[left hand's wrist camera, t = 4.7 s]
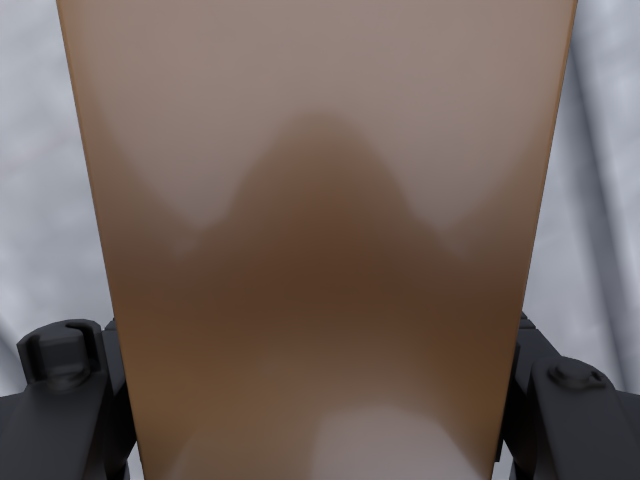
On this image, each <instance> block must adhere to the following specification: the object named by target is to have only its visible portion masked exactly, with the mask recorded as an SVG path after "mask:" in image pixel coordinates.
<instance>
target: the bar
mask: <svg viewBox="0 0 640 480" xmlns="http://www.w3.org/2000/svg"><path fill="white" fill-rule="evenodd" d="M577 1H578V0H56V3H57V9H58V14H59V19H60V25H61V30H62V36H63V41H64V46H65V52H66V57H67V63H68V68H69V74H70V79H71V84H72V90H73V95H74V101H75V106H76V111H77V117H78V122H79V128H80V133H81V139H82V144H83V149H84V155H85V160H86V166H87V171H88V176H89V182H90V187H91V193H92V198H93V204H94V209H95V214H96V220H97V225H98V231H99V236H100V241H101V247H102V252H103V258H104V263H105V269H106V274H107V279H108V285H109V290H110V296H111V301H112V306H113V312H114V317H115V323H116V328H117V334H118V339H119V344H120V350H121V355H122V361H123V366H124V371H125V377H126V382H127V388H128V393H129V399H130V404H131V409H132V415H133V420H134V426H135V431H136V436H137V442H138V447H139V453H140V458H141V464H142V469H143V474H144V480H491V479H492V473H493V468H494V462H495V457H496V451H497V445H498V440H499V434H500V429H501V423H502V418H503V412H504V407H505V401H506V396H507V390H508V384H509V379H510V373H511V368H512V362H513V357H514V351H515V346H516V340H517V334H518V329H519V323H520V318H521V312H522V307H523V301H524V296H525V290H526V285H527V279H528V273H529V268H530V262H531V257H532V251H533V246H534V240H535V235H536V229H537V223H538V218H539V212H540V207H541V201H542V196H543V190H544V185H545V179H546V174H547V168H548V162H549V157H550V151H551V146H552V140H553V135H554V129H555V124H556V118H557V112H558V107H559V101H560V96H561V90H562V85H563V79H564V74H565V68H566V63H567V57H568V51H569V46H570V40H571V35H572V29H573V24H574V18H575V13H576V7H577Z"/></svg>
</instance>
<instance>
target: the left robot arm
mask: <svg viewBox="0 0 640 480" xmlns="http://www.w3.org/2000/svg"><path fill="white" fill-rule="evenodd" d="M16 345H17V349H18V352H19V356H20V359H21V363H22V366H23V370H24V374H25V377H26V381H27V384H28V385H27V386H26V388H25V390H24V392H22V393H18V394H14V395H9V396H4V397H0V480H130V473H129V467H128V462H127V459H128V457H129V455H130V453H131V451H132V449H133V447H134V445H135V443H136V441H137V436H136V431H135V426H134V420H133V415H132V409H131V404H130V399H129V393H128V388H127V382H126V377H125V371H124V366H123V361H122V355H121V350H120V344H119V339H118V334H117V328H116V323H115V317H114V318H113V321H110V323H109V324H108V325H107V326H106V327H105V330H104V331H101V326H100V325H99V324H97V323H96V322H95V321H91V320H86V319H72V320H65V321H60V322H55V323H51V324H49V325H46V326H43V327H41V328H38V329H36V330H34V331H33V332H31V333H29V334H27V335H26V336H24V337H23V338H22V339H21V340H20V341H19V342H18V343H17V344H16ZM503 439H504V441H505V443H506V445H507V446H508V448H509V450H510V452H511V454H512V456H513V462H512V467H511V472H510V477H509V480H640V395H636V394H631V393H626V392H622V391H618V390H615V388H614V386H613V384H612V383H611V381H610V380H609V379H608V378H607V377H606V375H605V374H603V373H602V372H600V371H599V370H597V369H596V368H595V367H593V366H591V365H589V364H586V363H584V362H582V361H579V360H576V359H572V358H568V357H564V356H561V355H560V354H559V353H558V351H557V350H556V349H555V348H554V347H553V346H552V345H551V344H550V342H549V341H548V340H547V339H546V338H545V337H544V336H543V334H542V333H541V332H540V331H539V330H538V329H536V326H535V325H534V324H533V323H532V322H531V321H530V320H529V319H527V316H526V315H525V314H524V313H523V312H521V318H520V323H519V329H518V334H517V340H516V346H515V351H514V357H513V362H512V368H511V373H510V379H509V384H508V390H507V396H506V401H505V407H504V412H503V418H502V423H501V429H500V434H499V440H498V445H497V451H496V457H495V462H499V461H500V456H501V450H502V445H503ZM137 445H138V442H137ZM138 450H139V447H138ZM139 456H140V453H139ZM140 461H141V458H140Z"/></svg>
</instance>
